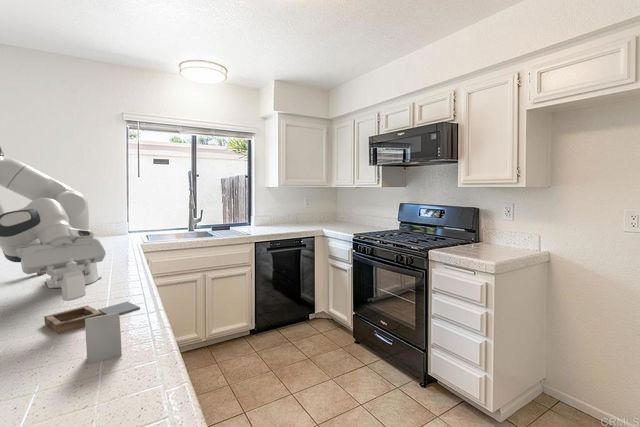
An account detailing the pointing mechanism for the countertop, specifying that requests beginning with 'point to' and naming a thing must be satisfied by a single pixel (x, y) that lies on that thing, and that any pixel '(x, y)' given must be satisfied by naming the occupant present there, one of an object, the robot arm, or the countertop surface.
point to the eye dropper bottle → (72, 282)
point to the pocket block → (57, 319)
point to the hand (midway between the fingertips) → (73, 277)
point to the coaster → (119, 308)
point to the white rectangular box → (103, 337)
